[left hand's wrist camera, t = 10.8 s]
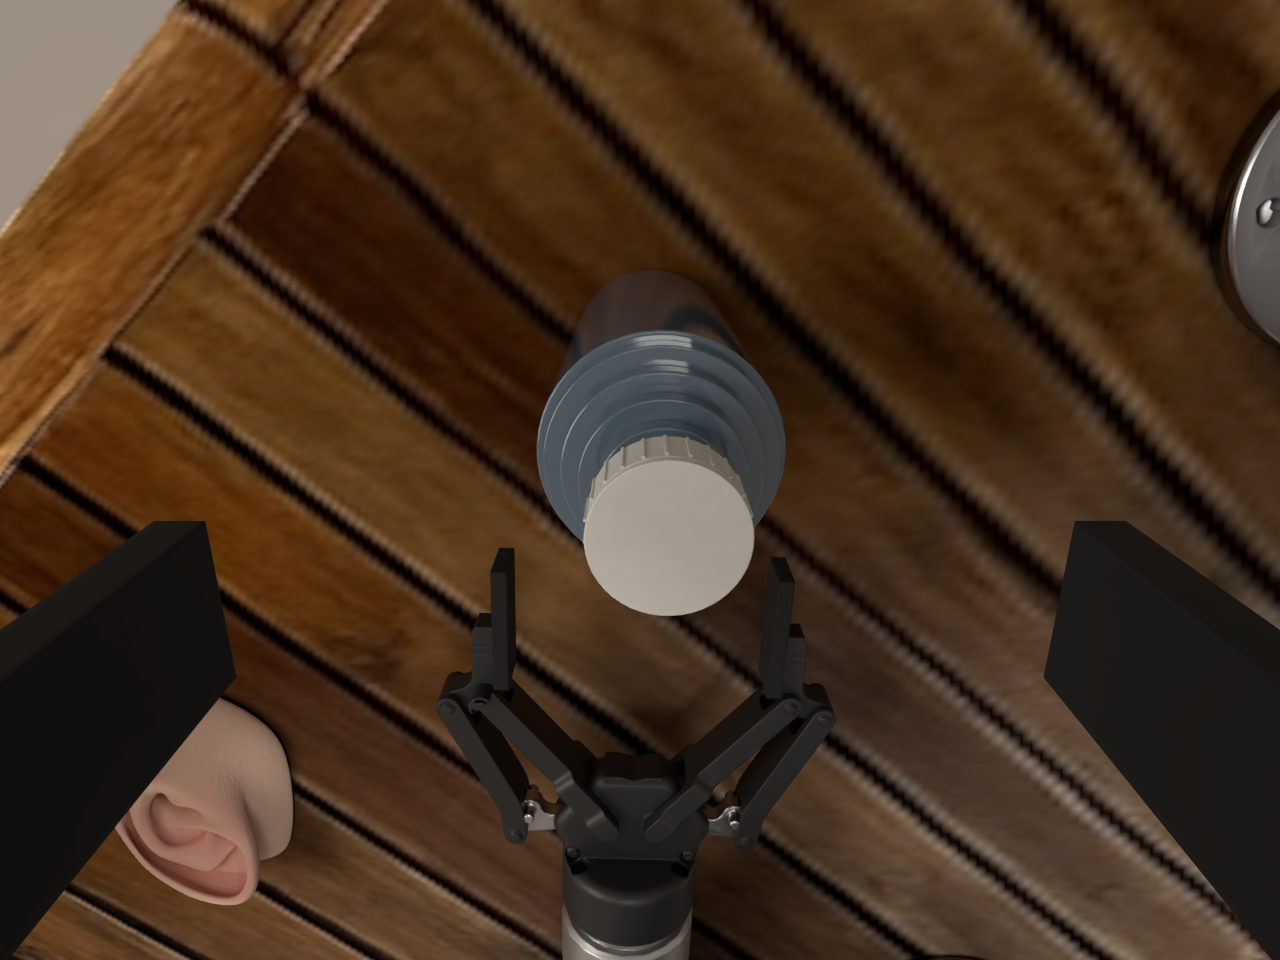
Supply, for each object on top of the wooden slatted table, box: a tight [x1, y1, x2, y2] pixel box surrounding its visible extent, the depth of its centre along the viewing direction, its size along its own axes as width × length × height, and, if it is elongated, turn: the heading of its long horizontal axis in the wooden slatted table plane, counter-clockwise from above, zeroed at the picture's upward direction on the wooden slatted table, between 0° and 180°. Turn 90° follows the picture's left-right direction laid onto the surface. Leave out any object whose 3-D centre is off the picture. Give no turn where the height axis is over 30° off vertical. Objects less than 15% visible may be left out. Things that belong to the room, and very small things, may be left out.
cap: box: [583, 435, 754, 616], centre depth 21 cm, size 4×4×2 cm
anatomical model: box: [115, 698, 293, 905], centre depth 49 cm, size 13×4×12 cm
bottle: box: [537, 270, 786, 542], centre depth 31 cm, size 8×8×23 cm
